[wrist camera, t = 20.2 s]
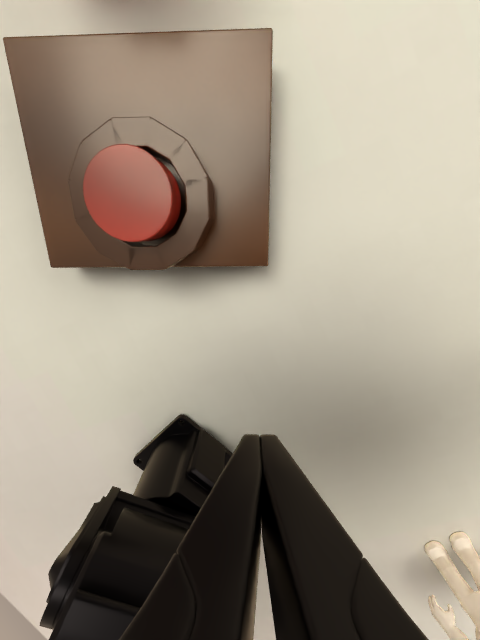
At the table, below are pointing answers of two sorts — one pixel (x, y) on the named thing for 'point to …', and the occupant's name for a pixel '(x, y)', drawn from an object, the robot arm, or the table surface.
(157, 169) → the switch button
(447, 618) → the blocky character figurine
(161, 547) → the robot arm
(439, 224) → the table surface
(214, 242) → the switch box
